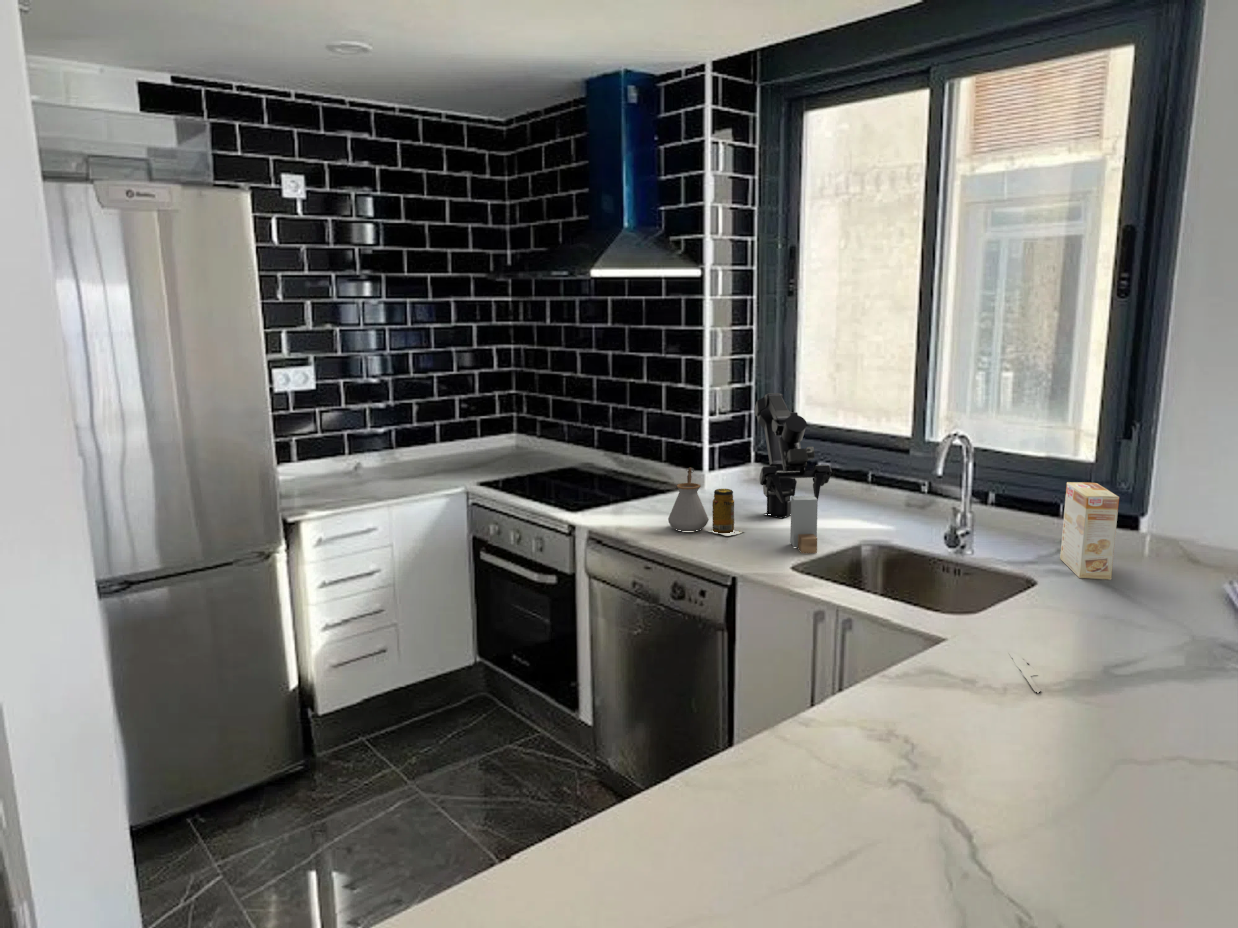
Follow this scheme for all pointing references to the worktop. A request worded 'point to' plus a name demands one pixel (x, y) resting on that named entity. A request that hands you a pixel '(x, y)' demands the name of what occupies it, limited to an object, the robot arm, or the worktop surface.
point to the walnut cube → (807, 543)
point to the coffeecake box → (1089, 530)
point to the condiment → (723, 511)
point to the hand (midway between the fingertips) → (799, 501)
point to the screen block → (803, 517)
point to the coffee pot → (688, 508)
